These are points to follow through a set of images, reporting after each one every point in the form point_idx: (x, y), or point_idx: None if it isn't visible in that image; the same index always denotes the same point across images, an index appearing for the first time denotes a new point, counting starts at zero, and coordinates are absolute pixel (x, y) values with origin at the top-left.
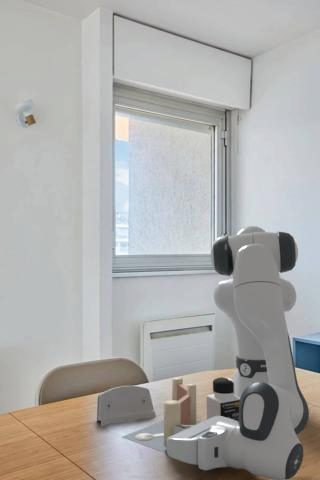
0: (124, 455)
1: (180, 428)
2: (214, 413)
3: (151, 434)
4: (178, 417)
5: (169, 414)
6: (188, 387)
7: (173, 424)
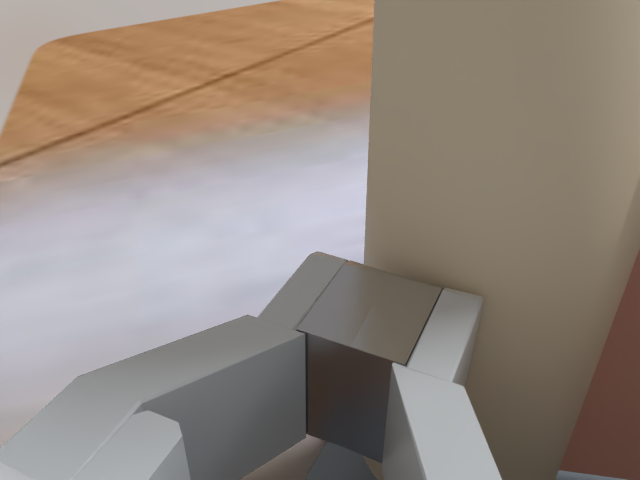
0: (255, 217)
1: (222, 332)
2: None
3: None
4: (477, 165)
5: (373, 36)
6: None
7: (379, 221)
